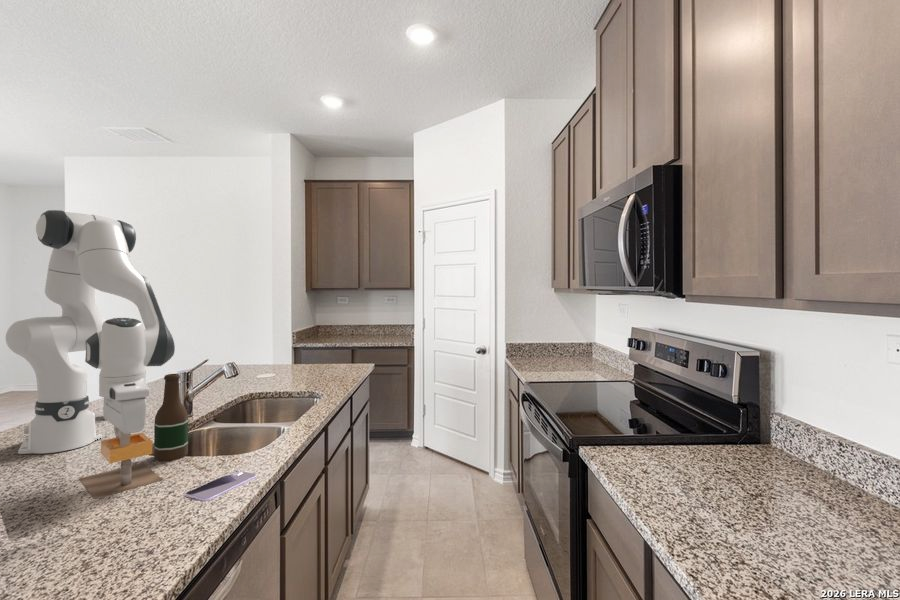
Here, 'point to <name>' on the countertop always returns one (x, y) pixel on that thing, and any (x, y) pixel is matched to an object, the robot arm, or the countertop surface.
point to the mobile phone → (220, 486)
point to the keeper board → (119, 479)
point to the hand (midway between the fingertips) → (122, 444)
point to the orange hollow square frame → (126, 448)
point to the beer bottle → (171, 424)
